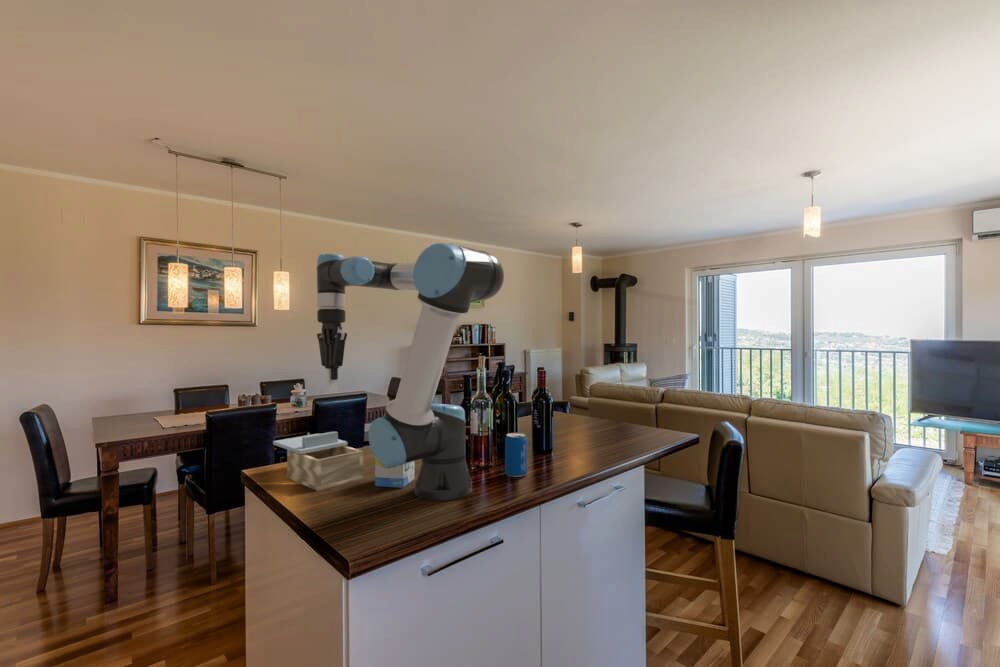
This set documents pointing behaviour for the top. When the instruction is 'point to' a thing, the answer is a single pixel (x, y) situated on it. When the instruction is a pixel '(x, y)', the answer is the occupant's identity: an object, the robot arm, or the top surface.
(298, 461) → the open wooden box
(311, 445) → the lid
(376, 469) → the ink box
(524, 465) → the beverage can
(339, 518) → the top surface
